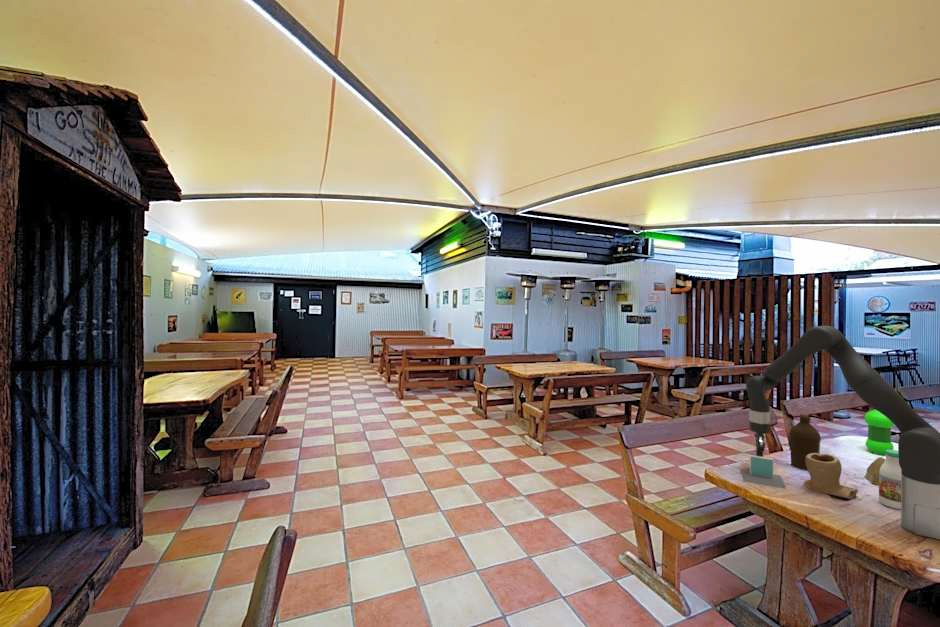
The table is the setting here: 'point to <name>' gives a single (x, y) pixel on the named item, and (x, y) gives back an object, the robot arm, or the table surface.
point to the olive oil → (803, 441)
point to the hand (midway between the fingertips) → (759, 459)
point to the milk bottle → (890, 480)
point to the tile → (761, 466)
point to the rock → (874, 471)
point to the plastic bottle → (878, 432)
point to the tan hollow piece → (826, 475)
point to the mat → (763, 479)
